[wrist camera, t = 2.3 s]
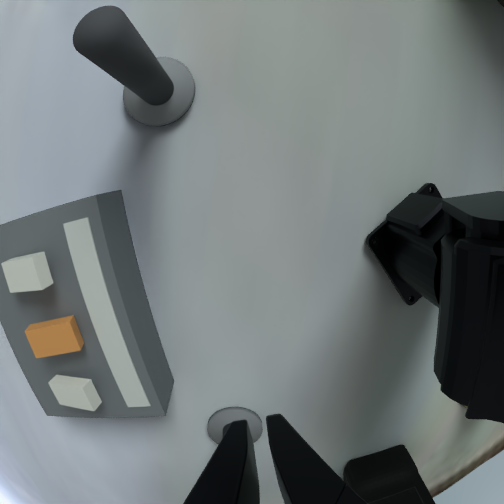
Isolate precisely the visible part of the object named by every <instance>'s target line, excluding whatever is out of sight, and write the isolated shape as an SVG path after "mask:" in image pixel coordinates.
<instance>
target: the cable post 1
mask: <svg viewBox="0 0 504 504" xmlns="http://www.w3.org/2000/svg"><path fill="white" fill-rule="evenodd" d="M73 44H74V47H75V49H76V50H77V51H78V52H79V53H80V54H82V55H83V56H85V57H86V58H87V59H89V60H90V61H92V62H93V63H94V64H96V65H97V66H98V67H100V68H101V69H103V70H104V71H105V72H107V73H108V74H109V75H111V76H112V77H113V78H115V79H116V80H117V81H119V82H120V83H121V84H123V85H124V91H123V100H124V104H125V107H126V109H127V111H128V112H129V114H130V115H131V116H132V117H133V118H134V119H136V120H137V121H139V122H141V123H143V124H146V125H150V126H163V125H167V124H170V123H172V122H174V121H176V120H178V119H179V118H180V117H182V116H183V115H184V114H185V113H186V112H187V110H188V109H189V108H190V106H191V104H192V102H193V99H194V95H195V83H194V79H193V77H192V74H191V72H190V71H189V69H188V68H187V67H186V66H185V65H184V64H183V63H181V62H180V61H178V60H176V59H173V58H168V57H158V58H156V57H155V56H154V54H153V53H152V51H151V50H150V48H149V47H148V46H147V44H146V43H145V41H144V40H143V38H142V37H141V36H140V34H139V33H138V31H137V30H136V29H135V27H134V26H133V24H132V23H131V22H130V20H129V19H128V17H127V16H126V15H125V13H124V12H123V11H122V10H121V9H120V8H118V7H115V6H103V7H99V8H97V9H94V10H93V11H91V12H89V13H88V14H87V15H85V16H84V17H83V18H82V20H81V21H80V22H79V23H78V25H77V27H76V29H75V31H74V35H73Z"/></svg>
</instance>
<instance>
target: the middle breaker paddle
mask: <svg viewBox="0 0 504 504" xmlns="http://www.w3.org/2000/svg"><path fill="white" fill-rule="evenodd" d="M24 332H25V334H26V336H27V339H28V341H29V343H30V346H31V348H32V350H33V353H34V355H35V357H36V358H42V357H48V356H53V355H59V354H64V353H70V352H75V351H80V350H81V349H82V347H83V344H84V341H83V338H82V335H81V333H80V330H79V328H78V325H77V322H76V320H75V317H74V315H71V316H67V317H62V318H58V319H53V320H49V321H44V322H39V323H35V324H30V325H29V326H28V328H27V329H26V330H25V331H24Z"/></svg>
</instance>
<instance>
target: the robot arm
mask: <svg viewBox="0 0 504 504" xmlns="http://www.w3.org/2000/svg"><path fill="white" fill-rule="evenodd" d="M429 188H431V192H430V193H429ZM375 237H376V242H375V243H374V244H372V239H373V238H375ZM366 243H367V245H368V247H369V248H370V249H371V251H372V252H373V254H374V255H375V257H376V258H377V260H378V261H379V263H380V264H381V266H382V267H383V269H384V270H385V272H386V274H387V275H388V277H389V278H390V280H391V281H392V283H393V284H394V286H395V288H396V289H397V291H398V292H399V294H400V296H401V297H402V299H403V300H404V302H405V303H406V304H408V305H413V304H414V303H415V302H417V301H418V300H419V299H420V298H421V297H422V296H423V297H425V298H426V299H428V300H429V301H430V302H432V303H433V304H434V305H436V306H437V307H438V308H439V316H438V328H437V338H436V347H435V355H434V372H435V374H436V376H437V378H438V380H439V382H440V384H441V391H442V392H443V393H444V394H445V395H447V396H448V397H449V398H450V399H452V400H454V401H456V402H458V403H460V404H462V405H464V406H467V407H468V408H467V411H466V415H465V417H466V418H468V419H487V420H492V421H497V422H502V423H504V191H495V192H488V193H481V194H473V195H466V196H459V197H452V198H445V199H444V198H442V197H441V195H440V193H439V191H438V189H437V187H436V186H435V185H434V184H433V183H426V184H425V185H424V186H422V187H421V188H420V189H419V190H418V191H417V192H416V193H411V194H409V195H408V196H407V197H406V198H405V199H404V200H403V201H402V202H401V203H399V204H398V205H397V206H396V207H395V208H394V209H393V210H392V211H390V212H389V213H388V214H387V216H386V220H385V221H384V222H382V223H381V224H380V225H379V226H378V227H377V228H376V229H374V230H373V231H372V232H371V233H370V234H369V235H368V236H367V238H366ZM410 296H412V298H411V299H410V300H409V297H410ZM266 423H267V430H268V438H269V445H270V450H271V454H272V458H273V463H274V467H275V471H276V475H277V479H278V484H279V487H280V491H281V494H282V497H283V499H284V502H285V504H368V503H367V502H365V501H364V500H363V499H362V498H361V497H360V496H359V495H358V494H356V493H355V492H354V491H353V490H352V489H351V488H350V487H349V486H348V485H346V483H345V482H344V481H343V480H342V479H341V478H340V477H339V476H338V475H337V474H336V473H335V472H334V471H333V470H332V469H331V468H330V467H329V466H328V465H327V463H326V462H325V461H324V460H323V459H322V458H321V457H320V456H319V455H318V454H317V453H316V452H315V451H314V450H313V449H312V448H311V447H310V445H309V444H308V443H307V442H306V441H305V440H304V439H303V438H302V437H301V436H300V435H299V433H298V432H297V431H296V430H295V429H294V428H293V427H292V426H291V425H290V424H289V422H288V421H287V420H286V419H285V418H284V417H283V416H282V415H281V414H274V415H268V416H267V417H266ZM183 504H260V493H259V480H258V473H257V466H256V459H255V452H254V445H253V439H252V436H251V432H250V428H249V425H248V421H247V420H245V419H243V420H236V421H233V422H231V424H230V426H229V428H228V429H227V431H226V433H225V435H224V436H223V438H222V440H221V442H220V443H219V445H218V447H217V449H216V450H215V452H214V454H213V455H212V457H211V459H210V460H209V462H208V464H207V466H206V467H205V469H204V471H203V472H202V474H201V476H200V477H199V479H198V481H197V482H196V484H195V485H194V487H193V489H192V490H191V492H190V494H189V495H188V497H187V498H186V500H185V502H184V503H183Z"/></svg>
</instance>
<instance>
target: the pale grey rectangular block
mask: <svg viewBox="0 0 504 504" xmlns="http://www.w3.org/2000/svg"><path fill="white" fill-rule="evenodd" d="M1 265H2V268H3V271H4V275H5V278H6V281H7V284H8V287H9V290H10V293H14V292H26V291H37V290H43V289H45V288H46V287H48V286H50V285H52V284H53V280H52V277H51V273H50V270H49V266H48V263H47V259H46V256H45V252H39V253H34V254H29V255H25V256H20V257H15V258H12V259H9V260H7V261H5V262H3V263H1Z"/></svg>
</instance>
